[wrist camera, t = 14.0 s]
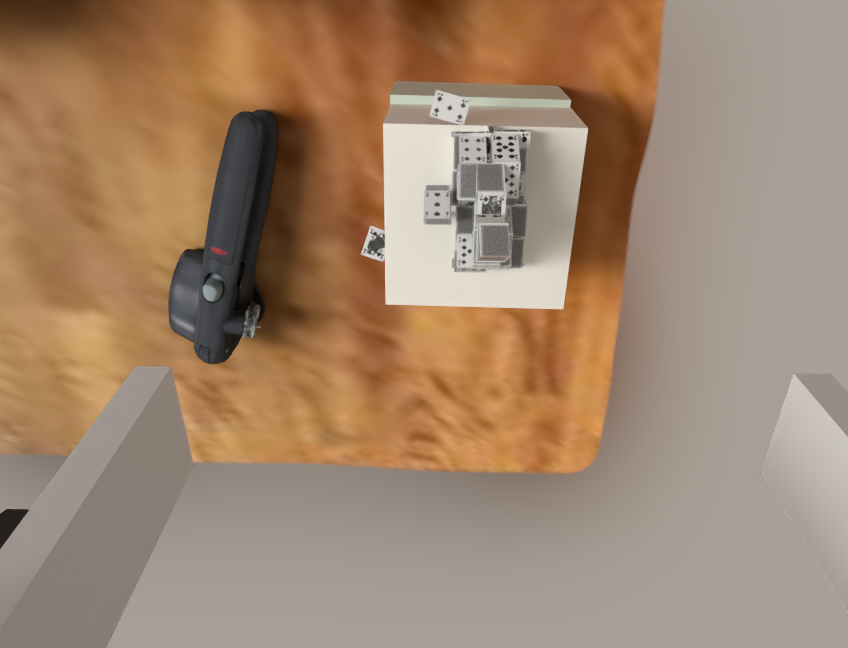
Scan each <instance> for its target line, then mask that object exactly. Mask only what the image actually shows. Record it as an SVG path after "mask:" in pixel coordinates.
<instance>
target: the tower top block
mask: <svg viewBox="0 0 848 648" xmlns="http://www.w3.org/2000/svg"><path fill="white" fill-rule="evenodd" d="M431 107H432V104H390V106H389V109H388V112H387V114H386V117H385V120H384V123H383V140H384V214H385V287H386V304H389V305H426V306H464V307H501V308H539V309H563V306H564V299H565V292H566V285H567V278H568V270H569V263H570V256H571V249H572V242H573V234H574V227H575V220H576V213H577V206H578V198H579V191H580V184H581V177H582V170H583V162H584V155H585V148H586V141H587V134H588V127H587V126H586V125H585V124H584V123H583V121H582V120H581V119H580V118H579V117H578V116H577V114H576V113H575V112H574V111H573V110H572V109H571V108H567V107H523V106H478V105H470V106H469V109H468V113H467V116H466V120H465V123H464V125H459V124H455V123H452V122H448V121H444V120H441V119H437V118H434V117H430V116H429V114H430V111H431ZM487 128H489V133H492V129H493V128H494V129H529V131H530V132H531V135H532V136H531V139H530V152H529V159H528V170H527V173H526V175H525V184H526V189H525V199H526V202H527V204H528V213H527V226H526V237H521V238H524V250H523V264H524V266H522V269H509V270H488V271H487V273H454V268H452V259H454V250H455V237H456V232H457V225H456V206H451V225H425V224H424V220H423V218H424V190H425V189H426V185H451V191H452V171H453V158H454V137H452V133H451V131H487ZM451 201H452V195H451Z"/></svg>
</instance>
